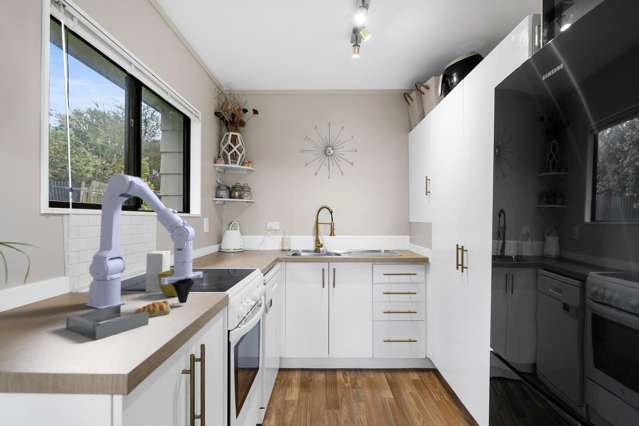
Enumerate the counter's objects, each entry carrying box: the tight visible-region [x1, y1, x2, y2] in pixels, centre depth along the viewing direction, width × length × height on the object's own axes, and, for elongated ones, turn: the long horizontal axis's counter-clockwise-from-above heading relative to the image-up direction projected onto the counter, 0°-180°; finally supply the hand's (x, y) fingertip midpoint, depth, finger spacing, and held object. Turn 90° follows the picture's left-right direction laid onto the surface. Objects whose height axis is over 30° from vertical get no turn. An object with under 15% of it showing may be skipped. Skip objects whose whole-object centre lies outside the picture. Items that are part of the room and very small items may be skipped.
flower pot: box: [158, 269, 178, 297], centre depth 117 cm, size 9×9×9 cm
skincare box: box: [145, 250, 171, 293], centre depth 125 cm, size 8×7×16 cm
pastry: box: [133, 300, 171, 318], centre depth 93 cm, size 9×7×4 cm
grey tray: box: [65, 304, 150, 341], centre depth 82 cm, size 15×13×3 cm
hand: (182, 302), depth 102 cm, fingers closed
